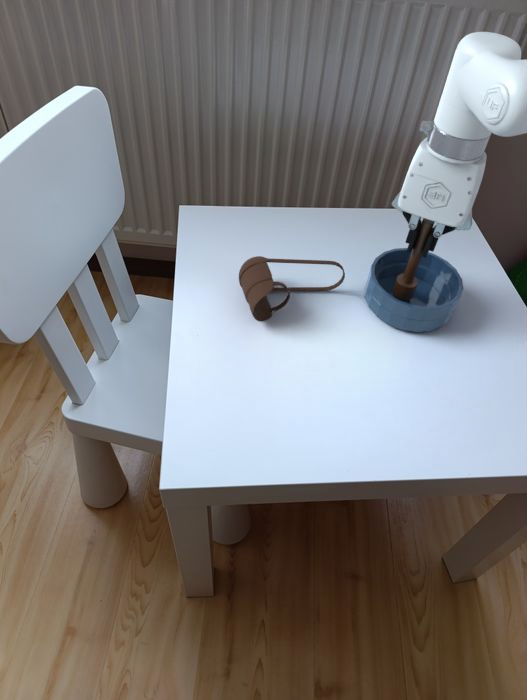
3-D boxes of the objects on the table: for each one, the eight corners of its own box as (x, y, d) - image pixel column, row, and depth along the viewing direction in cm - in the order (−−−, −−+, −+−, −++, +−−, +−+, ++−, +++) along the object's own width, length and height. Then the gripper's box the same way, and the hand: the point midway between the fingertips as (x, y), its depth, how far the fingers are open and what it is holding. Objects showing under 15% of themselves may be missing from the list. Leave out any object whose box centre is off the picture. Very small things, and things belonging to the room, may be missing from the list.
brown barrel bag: (249, 328, 87) (251, 297, 81) (234, 281, 94) (235, 249, 89) (352, 314, 91) (361, 283, 85) (330, 269, 98) (336, 239, 93)
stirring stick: (415, 290, 93) (443, 218, 82) (410, 303, 91) (437, 230, 80) (395, 283, 94) (420, 210, 83) (389, 295, 92) (414, 222, 80)
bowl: (459, 292, 96) (471, 266, 92) (439, 347, 87) (451, 321, 82) (379, 264, 100) (387, 237, 95) (351, 314, 91) (358, 287, 86)
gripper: (392, 135, 71) (364, 246, 85) (512, 169, 67) (462, 280, 81) (408, 113, 76) (378, 222, 90) (521, 144, 72) (472, 253, 86)
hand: (418, 249), depth 85 cm, fingers closed on stirring stick
